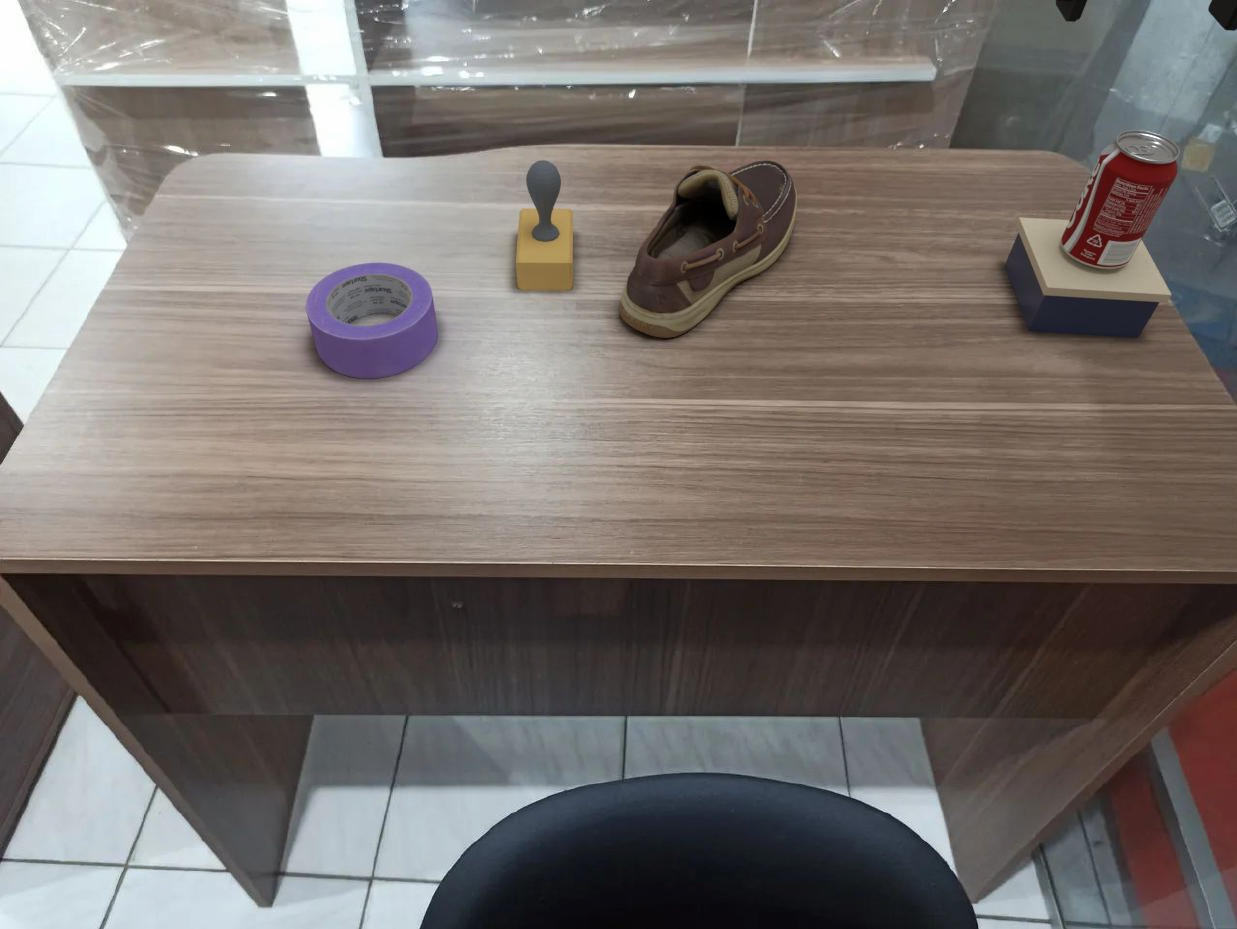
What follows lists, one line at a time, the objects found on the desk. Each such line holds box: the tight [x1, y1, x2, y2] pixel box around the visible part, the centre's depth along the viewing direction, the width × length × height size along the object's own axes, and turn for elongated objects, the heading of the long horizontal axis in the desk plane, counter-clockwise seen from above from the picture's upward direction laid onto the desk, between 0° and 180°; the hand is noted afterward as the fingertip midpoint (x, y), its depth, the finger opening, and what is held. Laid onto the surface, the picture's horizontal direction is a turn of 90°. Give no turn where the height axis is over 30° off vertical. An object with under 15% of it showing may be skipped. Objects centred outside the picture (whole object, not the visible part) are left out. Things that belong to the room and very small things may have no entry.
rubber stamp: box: [515, 159, 574, 291], centre depth 93 cm, size 10×6×12 cm, turn 2°
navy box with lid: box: [1004, 216, 1173, 339], centre depth 94 cm, size 12×12×6 cm
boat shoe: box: [618, 159, 798, 339], centre depth 95 cm, size 30×11×11 cm, turn 144°
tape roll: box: [305, 262, 439, 380], centre depth 87 cm, size 12×12×5 cm
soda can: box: [1061, 129, 1181, 269], centre depth 87 cm, size 7×7×12 cm
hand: (1143, 17), depth 57 cm, fingers open, 9 cm apart
